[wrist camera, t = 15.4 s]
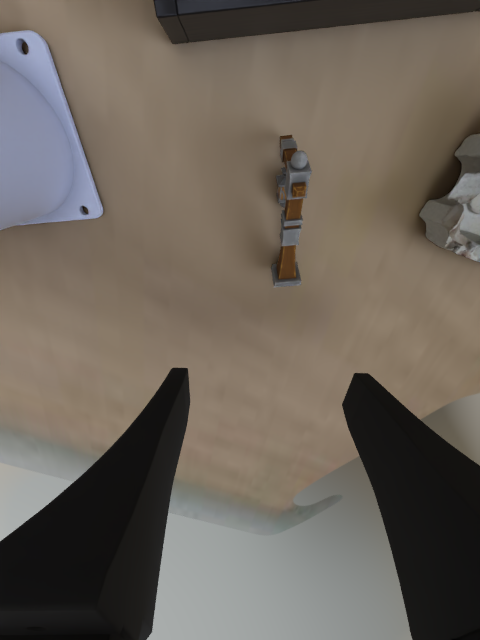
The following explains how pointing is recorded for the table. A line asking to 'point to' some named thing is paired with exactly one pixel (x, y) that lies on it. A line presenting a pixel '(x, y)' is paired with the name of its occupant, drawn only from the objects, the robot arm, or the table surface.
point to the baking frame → (287, 15)
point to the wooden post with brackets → (290, 210)
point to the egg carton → (458, 207)
